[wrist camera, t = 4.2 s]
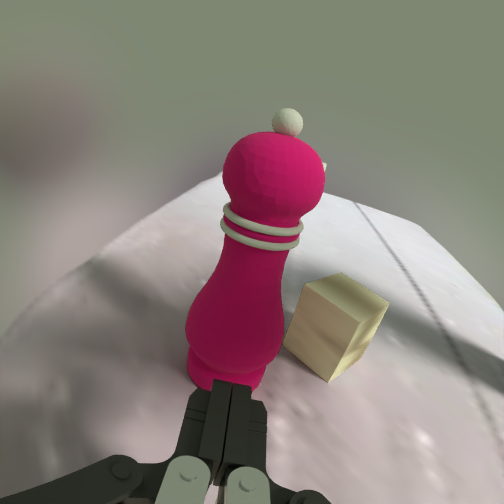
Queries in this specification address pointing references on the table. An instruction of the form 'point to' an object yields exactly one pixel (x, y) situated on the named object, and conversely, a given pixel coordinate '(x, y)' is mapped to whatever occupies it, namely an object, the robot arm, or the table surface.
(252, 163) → the pepper mill
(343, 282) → the pale yellow cube-like block
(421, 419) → the table surface
